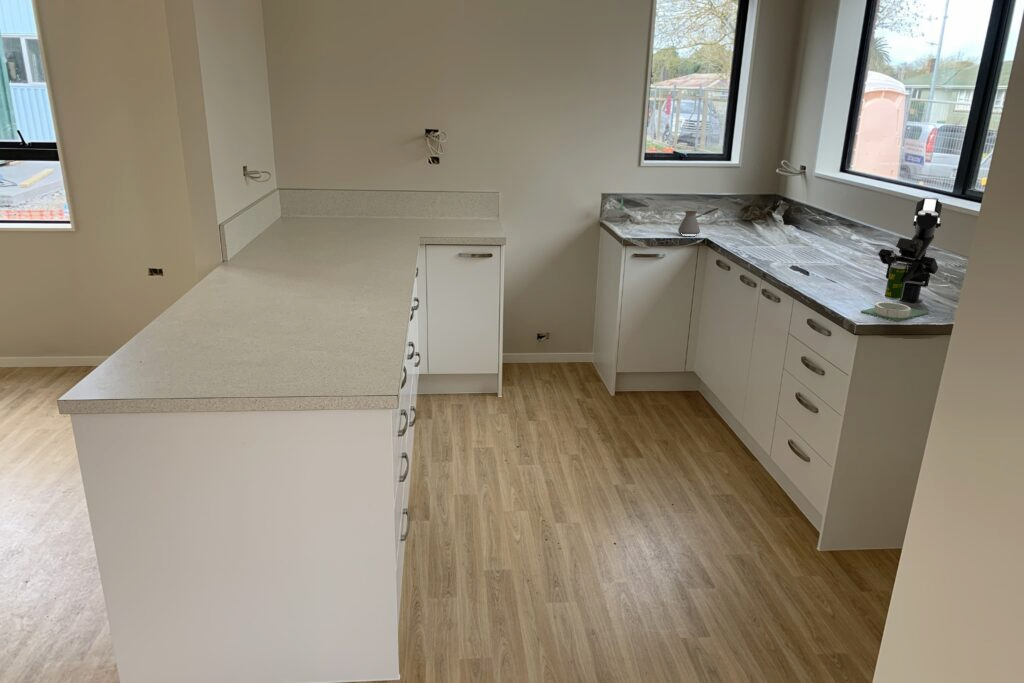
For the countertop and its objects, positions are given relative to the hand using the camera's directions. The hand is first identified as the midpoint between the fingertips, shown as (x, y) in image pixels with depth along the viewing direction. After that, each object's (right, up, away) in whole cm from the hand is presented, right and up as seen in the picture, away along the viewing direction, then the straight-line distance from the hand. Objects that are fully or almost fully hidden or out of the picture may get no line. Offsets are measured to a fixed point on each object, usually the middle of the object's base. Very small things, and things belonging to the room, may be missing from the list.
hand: (894, 279), depth 247 cm
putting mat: (+3, -11, +6) cm, 13 cm away
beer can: (+1, -6, +3) cm, 7 cm away
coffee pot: (-31, +35, +141) cm, 149 cm away
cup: (+1, -12, +4) cm, 12 cm away
